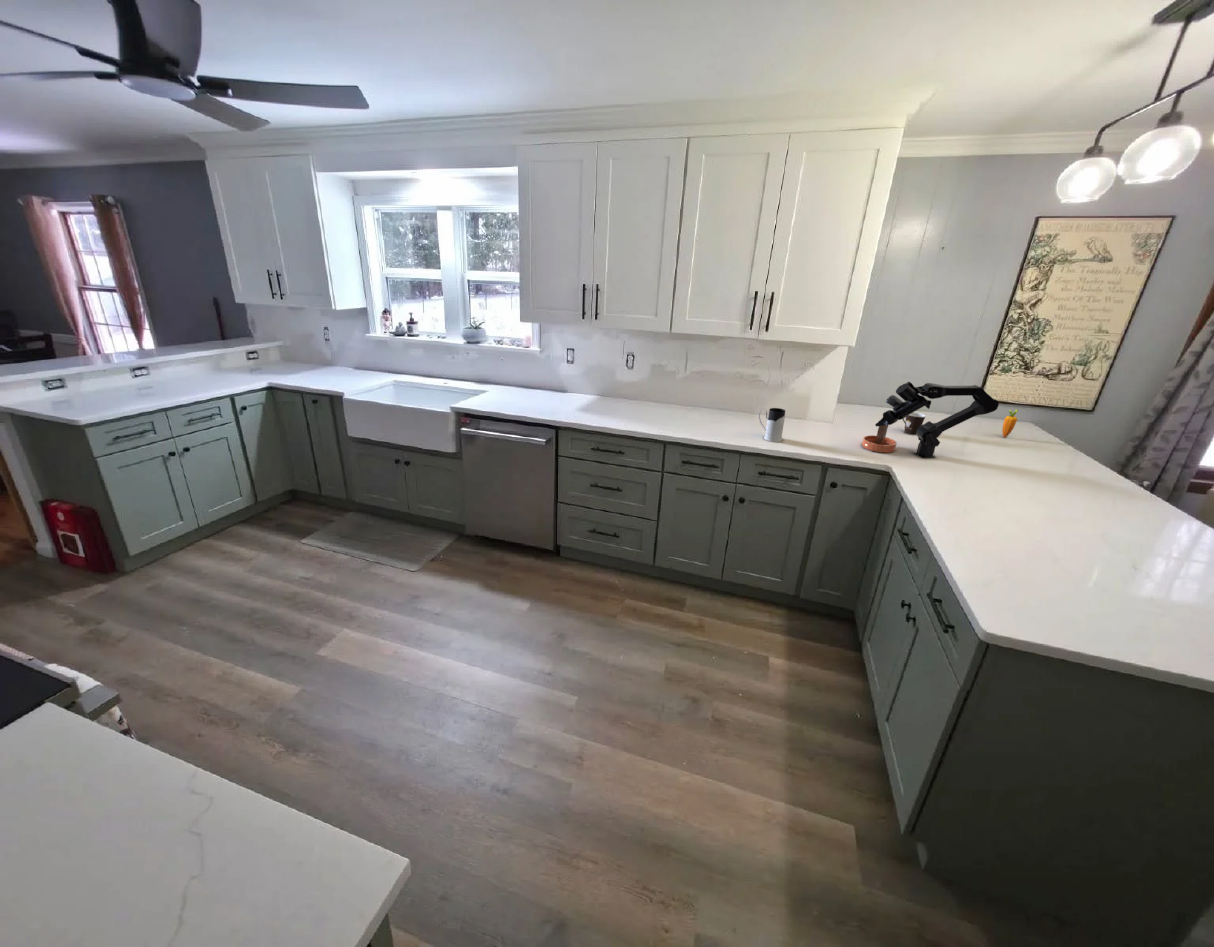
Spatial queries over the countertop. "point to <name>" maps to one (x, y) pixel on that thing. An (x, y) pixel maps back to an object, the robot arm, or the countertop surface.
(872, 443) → the bowl
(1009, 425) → the carrot
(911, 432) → the coffee mug
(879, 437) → the brown wooden block
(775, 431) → the white pitcher
